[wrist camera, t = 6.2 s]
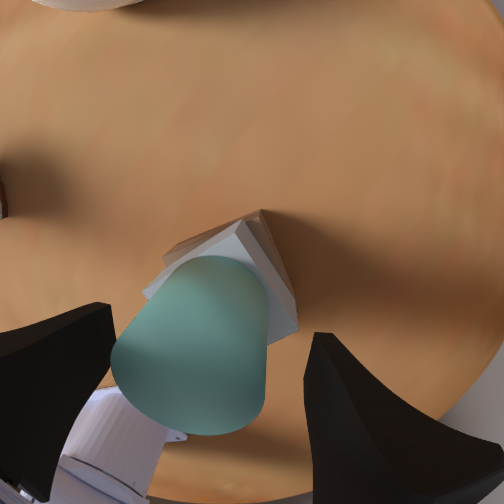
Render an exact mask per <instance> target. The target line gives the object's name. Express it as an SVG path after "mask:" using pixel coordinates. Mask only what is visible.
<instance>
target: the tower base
mask: <svg viewBox="0 0 504 504" xmlns="http://www.w3.org/2000/svg"><path fill="white" fill-rule="evenodd" d="M241 219H243V220H244V222H245V223H246V225H247V226H248V228H249V229H250V231H251V232H252V234H253V236H254V237H255V239H256V240H257V242H258V243H259V245H260V246H261V248H262V249H263V251H264V253H265V254H266V256H267V257H268V259H269V260H270V262H271V263H272V265H273V266H274V268H275V270H276V271H277V273H278V274H279V276H280V277H281V279H282V280H283V282H284V284H285V285H286V287H287V288H288V290H289V291H290V293H291V295H292V296H293V298H294V299H295V305H296V312H298V310H297V304H296V298H295V292H294V289H293V287H292V284H291V282H290V279H289V277H288V274H287V272H286V269H285V267H284V264H283V262H282V259H281V257H280V254H279V252H278V249H277V247H276V245H275V242H274V240H273V237H272V235H271V232H270V230H269V228H268V225H267V223H266V220H265V218H264V216H263V213H262V211H261V209H259V210H257V211H255V212H252V213H250V214H247V215H245V216H242V217H240V218H237V219H235V220H232V221H230V222H228V223H225V224H223V225H220V226H218V227H216V228H213V229H211V230H209V231H206V232H204V233H202V234H199V235H197V236H195V237H192V238H190V239H188V240H185V241H183V242H181V243H178V244H177V245H176V246H174V247H173V248H172V249H171V250H170V251H169V252H167V253H166V254H165V255H164V256H163V257H162V258H163V260H164V262H165V264H166V266H167V267H168V266H169V265H171V264H172V263H174V262H175V261H177V260H178V259H180V258H181V257H183V256H184V255H186V254H187V253H189V252H190V251H192V250H194V249H195V248H197V247H198V246H200V245H201V244H203V243H204V242H206V241H208V240H209V239H211V238H212V237H214V236H215V235H217V234H219V233H220V232H222V231H223V230H225V229H226V228H228V227H230V226H231V225H233V224H234V223H236V222H238V221H239V220H241Z"/></svg>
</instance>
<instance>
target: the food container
mask: <svg viewBox="0 0 504 504" xmlns="http://www.w3.org/2000/svg"><path fill="white" fill-rule="evenodd" d="M7 217H8V214H7V202H6V196H5V190H4V186H3V183H2V180H1V177H0V220H1V219H4V218H7Z"/></svg>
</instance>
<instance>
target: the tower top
mask: <svg viewBox="0 0 504 504" xmlns="http://www.w3.org/2000/svg"><path fill="white" fill-rule="evenodd" d="M206 255H215V256H222V257H226V258H229V259H232V260H235V261H237V262H239V263H240V264H242V265H244V266H245V267H247V268H248V269H249V270H250V271H251V272H253V273H254V274H255V276H256V277H257V278H258V279H259V281H260V282H261V284H262V285H263V287H264V289H265V292H266V295H267V299H268V333H267V345H269V344H272V343H274V342H276V341H278V340H280V339H282V338H284V337H286V336H288V335H290V334H292V333H294V332H296V331H298V330H299V326H298V319H297V312H296V305H295V299H294V298H293V296H292V295H291V293H290V291H289V290H288V288H287V287H286V285H285V284H284V282H283V280H282V279H281V277H280V276H279V274H278V273H277V271H276V270H275V268H274V266H273V265H272V263H271V262H270V260H269V259H268V257H267V256H266V254H265V253H264V251H263V249H262V248H261V246H260V245H259V243H258V242H257V240H256V239H255V237H254V236H253V234H252V232H251V231H250V229H249V228H248V226H247V225H246V223H245V222H244V220H243V219H241V220H239V221H238V222H236V223H234V224H233V225H231V226H230V227H228V228H226V229H225V230H223V231H222V232H220V233H219V234H217V235H215V236H214V237H212V238H211V239H209V240H208V241H206V242H204V243H203V244H201V245H200V246H198V247H197V248H195V249H194V250H192V251H190V252H189V253H187V254H186V255H184V256H183V257H181V258H180V259H178V260H177V261H175V262H174V263H172V264H171V265H169V266H168V267H166V268H165V269H164V270H163V271H162V272H161V273H160V274H159V275H158V276H157V277H156V278H155V279H154V280H153V281H152V282H151V283H150V284H149V285H148V286H147V287H146V288H145V289H144V290H143V291H142V293H143V294H144V295H145V297H146V298H147V300H148V301H149V300H150V298H151V297H152V296H153V295H154V294H155V292H156V291H157V290H158V289H159V288H160V286H161V285H162V284H163V283H164V282H165V281H166V279H167V278H168V277H169V276H170V275H171V273H172V272H173V271H174V270H175V269H176V268H177V267H178V266H179V265H181V264H182V263H184V262H185V261H187V260H190V259H192V258H195V257H199V256H206Z"/></svg>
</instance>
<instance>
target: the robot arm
mask: <svg viewBox="0 0 504 504" xmlns="http://www.w3.org/2000/svg"><path fill="white" fill-rule="evenodd" d="M116 341H117V340H116V335H115V329H114V323H113V317H112V310H111V305H110V304H106V303H101V302H94V303H91V304H87V305H84V306H81V307H78V308H76V309H73V310H70V311H68V312H65V313H62V314H60V315H57V316H55V317H52V318H49V319H46V320H43V321H41V322H38V323H35V324H32V325H29V326H26V327H22V328H19V329H15V330H11V331H7V332H2V333H0V504H149V502H150V501H149V500H147V499H145V497H146V494H147V491H148V489H149V486H150V483H151V480H152V477H153V475H154V472H155V469H156V466H157V464H158V461H159V458H160V455H161V453H162V450H163V447H164V444H165V442H174V441H185V440H187V438H188V436H187V434H186V433H184V432H180V431H176V430H173V429H170V428H168V427H165V426H163V425H161V424H159V423H157V422H155V421H153V420H152V419H150V418H148V417H147V416H145V415H144V414H142V413H141V412H140V411H139V410H137V409H136V408H135V407H134V406H133V405H132V404H131V403H130V402H129V401H128V400H127V399H126V398H125V396H124V395H123V394H122V392H121V391H120V389H119V388H118V386H114V387H108V388H103V389H97V390H95V389H96V388H97V386H98V385H99V384H100V382H101V381H102V379H103V378H104V376H105V375H106V373H107V372H108V370H109V368H110V366H111V363H110V359H111V352H112V349H113V346H114V344H115V342H116ZM303 380H304V406H305V412H306V419H307V426H308V432H309V439H310V445H311V452H312V462H313V504H477V503H478V502H479V501H481V500H482V499H483V498H484V497H485V496H487V495H488V494H489V493H490V492H492V491H493V490H494V489H495V488H496V487H497V486H498V485H499V484H501V483H502V481H504V451H503V449H502V448H501V446H500V445H499V444H496V443H493V442H490V441H486V440H482V439H479V438H476V437H473V436H470V435H467V434H464V433H462V432H460V431H457V430H454V429H452V428H450V427H448V426H446V425H444V424H442V423H440V422H438V421H436V420H434V419H432V418H431V417H429V416H427V415H425V414H424V413H422V412H420V411H419V410H417V409H416V408H414V407H412V406H411V405H409V404H408V403H407V402H405V401H404V400H403V399H401V398H400V397H398V396H397V395H396V394H394V393H393V392H392V391H391V390H389V389H388V388H387V387H386V386H385V385H383V384H382V383H381V382H380V381H379V380H378V379H377V378H376V377H374V376H373V375H372V374H371V373H370V372H369V371H368V370H367V369H366V368H365V367H364V366H363V365H362V364H361V363H360V362H359V361H358V360H357V359H356V358H355V357H354V356H353V355H352V354H351V352H350V351H349V350H348V349H347V348H346V347H345V346H344V345H343V344H342V343H341V342H340V341H339V339H338V338H337V337H336V336H335V335H334V334H333V333H321V332H314V337H313V341H312V345H311V350H310V354H309V358H308V362H307V366H306V370H305V374H304V378H303ZM7 481H8V482H9V483H10V484H12V485H13V486H14V487H19V488H20V489H21V493H20V494H19V493H18V492H17V491H15V490H14V489H13V488H11V487H10V486H9V485H8V484H6V482H7Z"/></svg>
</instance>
